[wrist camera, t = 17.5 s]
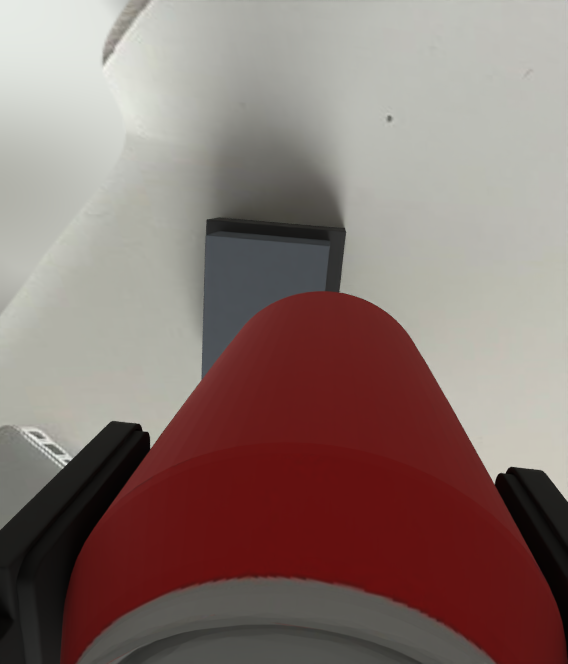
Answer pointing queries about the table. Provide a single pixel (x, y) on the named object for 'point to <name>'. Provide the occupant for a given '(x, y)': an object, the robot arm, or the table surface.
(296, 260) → the pad top
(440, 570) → the beverage can
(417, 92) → the table surface
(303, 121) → the table surface
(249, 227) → the pad base
